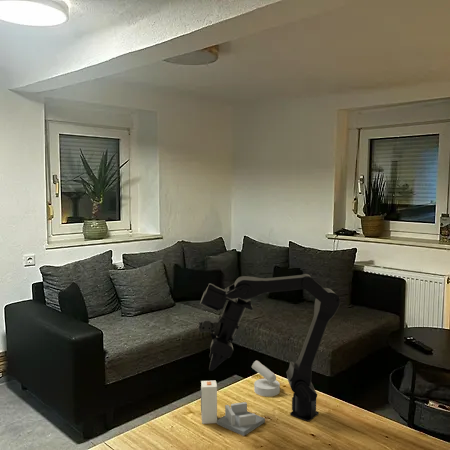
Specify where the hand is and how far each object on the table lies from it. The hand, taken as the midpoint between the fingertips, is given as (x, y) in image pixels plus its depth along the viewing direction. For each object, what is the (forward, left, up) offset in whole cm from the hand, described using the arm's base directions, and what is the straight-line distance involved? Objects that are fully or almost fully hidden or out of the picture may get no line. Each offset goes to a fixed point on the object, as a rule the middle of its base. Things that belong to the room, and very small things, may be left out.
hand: (210, 364), depth 138 cm
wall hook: (-2, -25, -16) cm, 30 cm away
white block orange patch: (-1, +2, -16) cm, 16 cm away
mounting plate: (-10, -3, -16) cm, 19 cm away
